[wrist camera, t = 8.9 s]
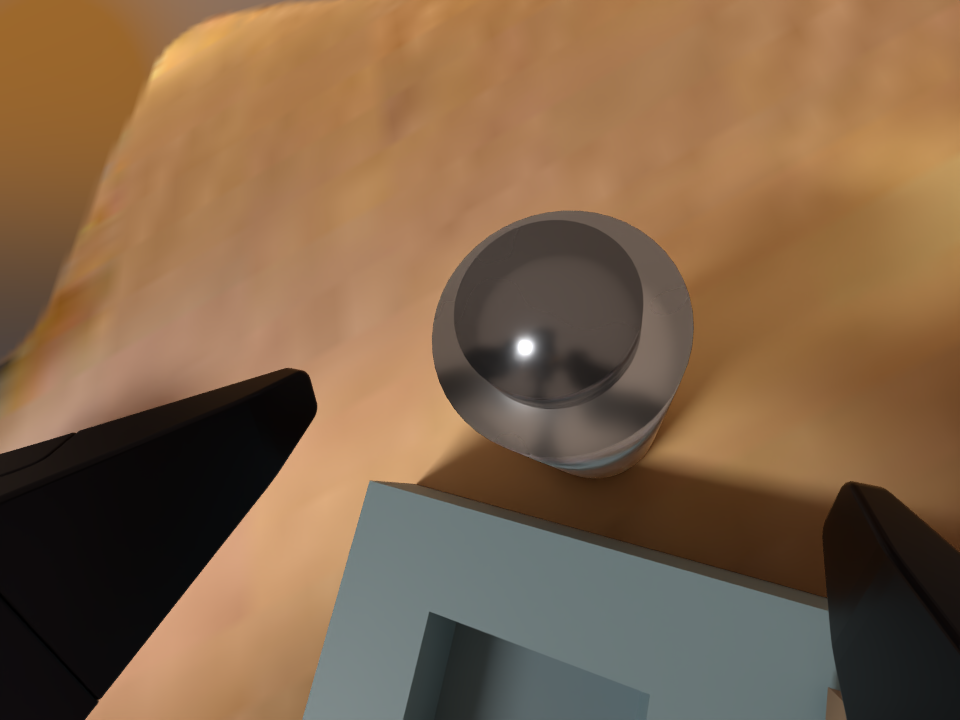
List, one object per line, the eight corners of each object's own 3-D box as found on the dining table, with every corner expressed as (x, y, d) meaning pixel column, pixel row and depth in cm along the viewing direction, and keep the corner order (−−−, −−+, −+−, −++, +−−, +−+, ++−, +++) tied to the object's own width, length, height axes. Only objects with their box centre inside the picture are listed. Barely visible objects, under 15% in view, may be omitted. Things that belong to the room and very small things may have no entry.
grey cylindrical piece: (679, 456, 16) (760, 394, 6) (549, 494, 17) (442, 489, 7) (630, 335, 17) (634, 134, 8) (513, 375, 18) (387, 239, 9)
